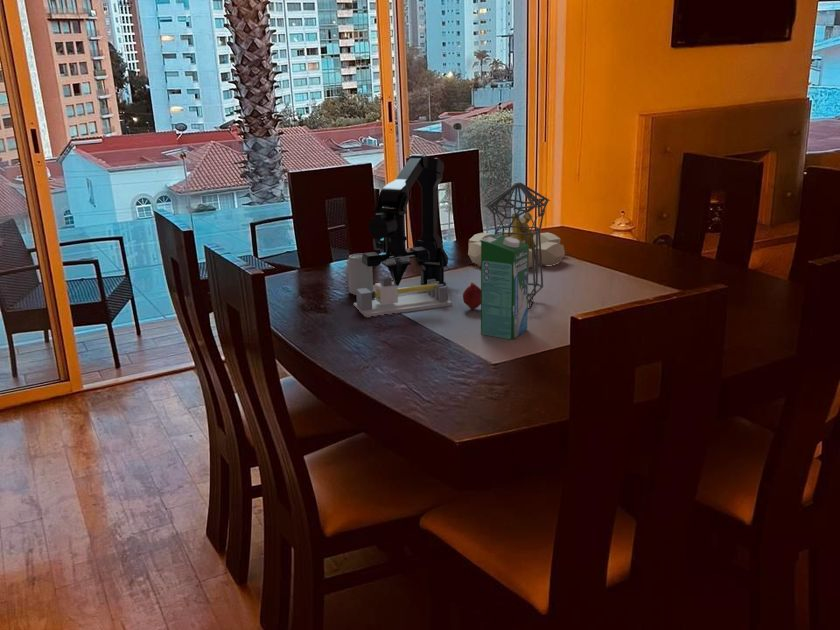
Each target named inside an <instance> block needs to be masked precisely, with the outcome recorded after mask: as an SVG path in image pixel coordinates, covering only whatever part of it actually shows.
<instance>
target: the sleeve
mask: <svg viewBox="0 0 840 630" xmlns="http://www.w3.org/2000/svg"><path fill="white" fill-rule="evenodd" d="M379 281H380V282H378V283H377V282H376V283H374V285H375V286H374V289H375V290H374V291H380V297H376V298H375V300H376V301H378V302H379V303H380V304H381V305H383V304H390V303H398V297H399V295H398V288H399V287H398V286H397V285H396V284H394V281H393V279H392V277H390V276H389V275H387V276H380V280H379Z"/></svg>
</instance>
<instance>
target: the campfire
mask: <svg viewBox="0 0 840 630" xmlns="http://www.w3.org/2000/svg"><path fill="white" fill-rule="evenodd" d="M516 214H517V212H516ZM529 214H530V216H531V218H532V219H533V216H532V214H531V213H530V212H529ZM511 216H515V213H512V214H511ZM530 216H529V215H528V213H527V212H526V213H524V214H523V216H522V217H520V216H518V218H519V220H520V221H521V223H522V225H523V226H525V227H530V225H529V222H530V221H532V220H531V218H530ZM513 219H514V218H511V221H512V220H513ZM511 226H521V225H520V223H519V221H518V220H517V218H516V219H515V220H514V222H513V224H512V225H511ZM511 228H512V229H510V233H525V231H524V230H523V228H516V227H511ZM508 230H509V229H504V232H506V233H508ZM525 230H526V231H527V233H529V232H530V230H531V228H525ZM534 232H535V231H534V230H533V229H532V231H531V233H534ZM494 234H495V233H488V232H479V233H476V234H473V236H472V237H471V238H469V239H468V243H467V244H468V252H467V255H468V256H469V258H470V260H471V262H472V263H475V264H474V265H476V264H477V265H476V266H478V265H479V266H478V267H480V266H481V240H482V239H484V238H487V237H489V236H492V235H494ZM499 234H500V233H499ZM501 235H502V234H501ZM504 236H507V237H508V234H504ZM510 237H512V238H515V239H518V240H519V241H520V242H523V243H525V235H520V234H510ZM540 239H541V257H542V266H543V265H553V264H556V263H558V262H560V263H561V261H562V260H563V258H564V257H565V255H566V254H565V247H564V245H563V244H561V238H560V237H559V236H557V235H556V234H554V233H550V232H540ZM533 243H534V257H536V234H533ZM527 244H528V245H529V269H530V268H533V262H532V242H531V235H527ZM534 264H535V266H536V258H534ZM539 264H540V254H539V237H538V265H539Z"/></svg>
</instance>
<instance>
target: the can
mask: <svg viewBox="0 0 840 630" xmlns="http://www.w3.org/2000/svg"><path fill="white" fill-rule="evenodd" d="M363 254H364V253H353V254H350V255H349V256H348V260H347V280H348V281H347V282H348V292H349V293H350V294H351V295H352V294H353V296H355V295H356V289H362V288H367V289H368V290H369V291H374V279H373V274H374V273H373V266H371V267H368V266H366V265H365V264H363V263H362V255H363Z"/></svg>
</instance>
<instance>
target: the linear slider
mask: <svg viewBox="0 0 840 630" xmlns="http://www.w3.org/2000/svg"><path fill="white" fill-rule="evenodd" d="M448 287H449V286H445V285H443V284H439V281H436V280H435V279H430V280H427V285H424V284H421V285H413V286H406V287H397V288H398V303H390V304H383V305H381V304H380V303H379V302H378V301H376V297H380V291H375V290H373V291H369V290H368V289H367V288H362V289H356V302H353V307H354V306H355V307H356V308H357V309H358V310H359V311H358V310H357V309H356V308H355V307H354V308H355V309H356V310H357V311H358V312H359V313H361V314H362V315H363V316H364V318H366V317H367V318H372V317H371V316H374V317H378V316H377V315H381V316H385V315H384V314H388V315H393V314H392V313H395V314H401V313H400V312H403V313H408V312H415V311H416V312H417V311H423V310H430V309H438V308H445V307H452V306H453V302H452V301H450V300H449V299H448V296H449V293H448V290H449V289H448ZM421 292H425V293H421ZM412 293H417V294H412ZM405 294H409V295H405ZM399 295H402V296H399Z"/></svg>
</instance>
